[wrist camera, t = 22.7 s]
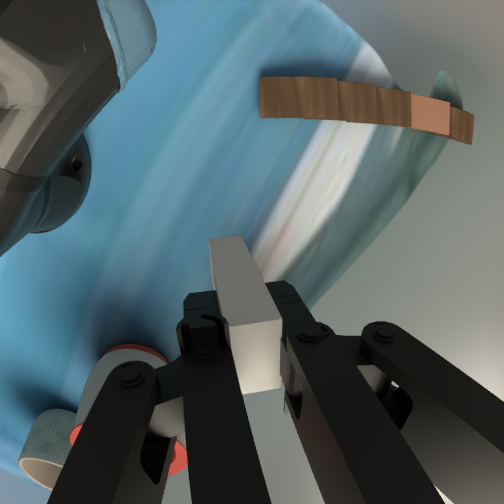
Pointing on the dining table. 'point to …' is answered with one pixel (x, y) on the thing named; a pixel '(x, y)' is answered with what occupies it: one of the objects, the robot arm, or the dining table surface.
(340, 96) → the domino
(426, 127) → the domino
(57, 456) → the planter
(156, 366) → the citrus juicer
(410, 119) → the domino
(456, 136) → the domino
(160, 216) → the dining table surface
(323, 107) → the domino
